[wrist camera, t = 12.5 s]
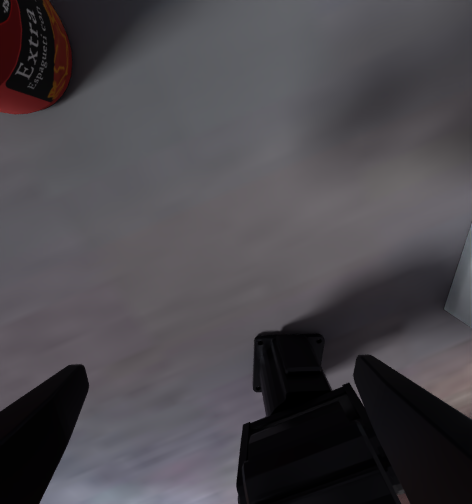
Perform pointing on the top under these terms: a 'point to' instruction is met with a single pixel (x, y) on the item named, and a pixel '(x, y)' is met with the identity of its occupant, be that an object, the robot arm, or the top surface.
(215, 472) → the top surface
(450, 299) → the tray
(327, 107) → the top surface
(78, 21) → the top surface
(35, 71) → the canned food
